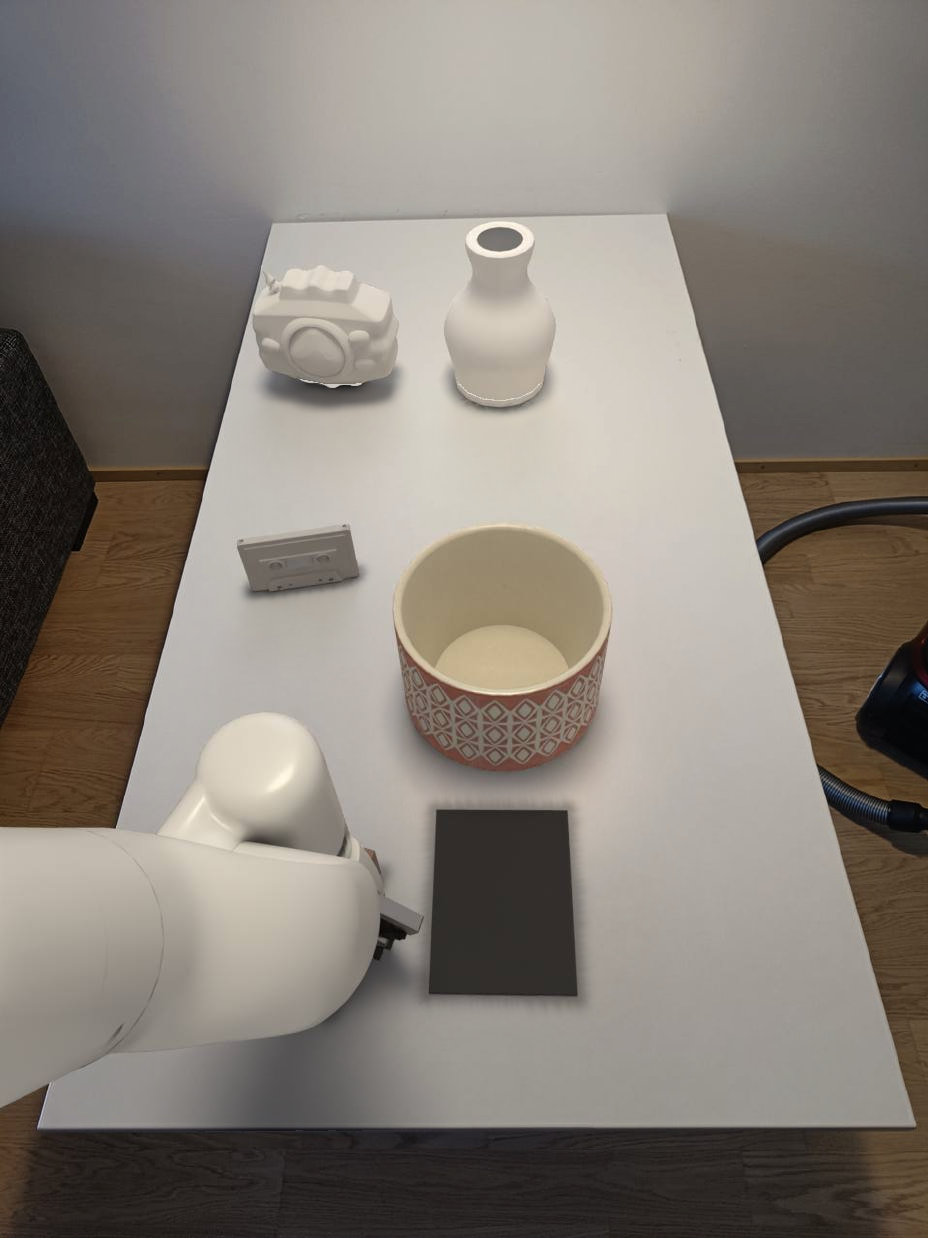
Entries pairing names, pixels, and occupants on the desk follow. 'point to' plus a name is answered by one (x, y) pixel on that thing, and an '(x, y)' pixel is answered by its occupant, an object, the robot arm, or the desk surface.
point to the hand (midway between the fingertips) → (332, 925)
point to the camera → (325, 327)
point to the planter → (502, 644)
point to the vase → (499, 319)
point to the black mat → (502, 904)
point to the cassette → (299, 558)
